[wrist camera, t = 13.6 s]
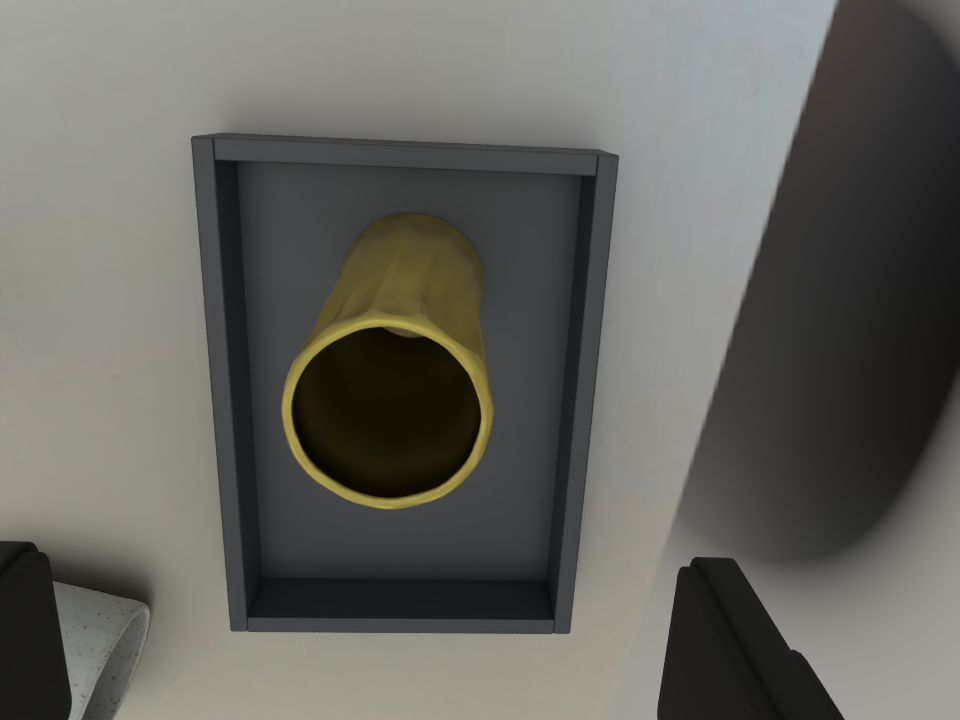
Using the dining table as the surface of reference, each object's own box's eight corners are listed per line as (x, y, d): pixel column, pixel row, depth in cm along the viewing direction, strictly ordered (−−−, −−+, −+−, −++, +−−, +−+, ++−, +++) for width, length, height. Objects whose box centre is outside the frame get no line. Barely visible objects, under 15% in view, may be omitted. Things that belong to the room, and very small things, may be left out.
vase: (458, 368, 33) (467, 551, 19) (324, 328, 32) (235, 490, 18) (502, 238, 31) (546, 341, 17) (362, 192, 30) (294, 262, 17)
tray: (600, 149, 30) (619, 155, 27) (558, 586, 38) (570, 634, 34) (219, 132, 30) (190, 136, 26) (250, 583, 37) (230, 632, 33)
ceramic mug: (-11, 530, 35) (-131, 644, 28) (162, 570, 36) (90, 690, 29) (-31, 697, 38) (-142, 837, 31) (128, 729, 39) (56, 871, 32)
